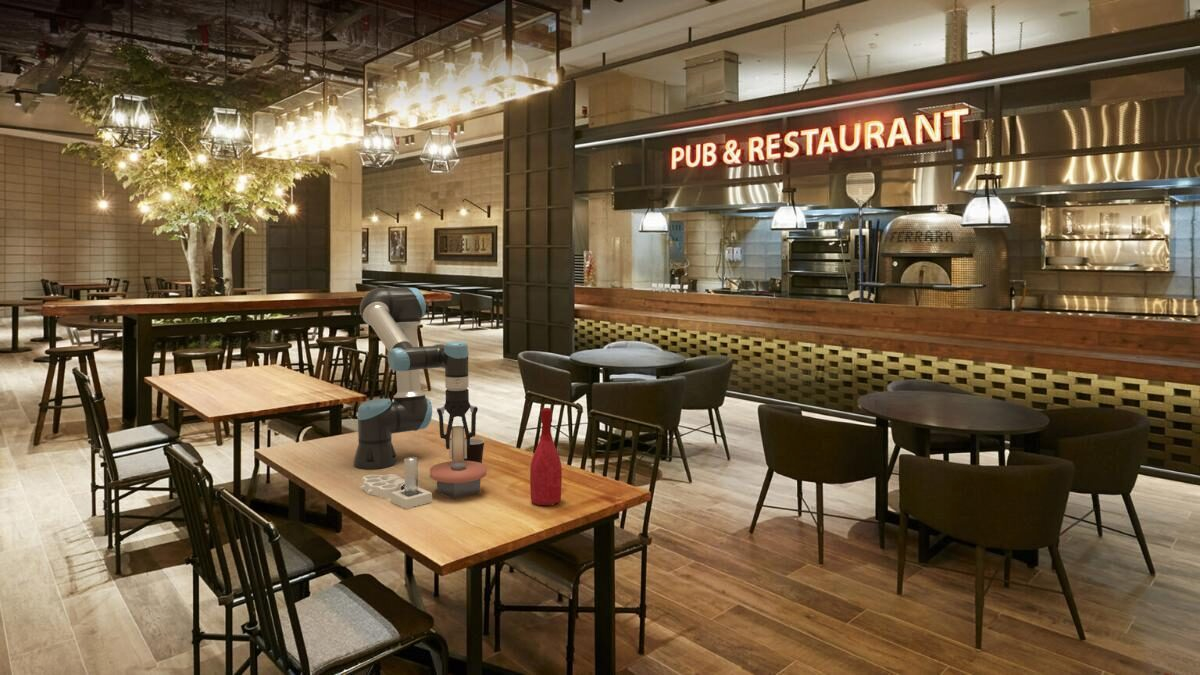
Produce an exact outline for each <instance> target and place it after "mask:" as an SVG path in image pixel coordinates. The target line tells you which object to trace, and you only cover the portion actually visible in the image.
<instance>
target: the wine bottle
mask: <svg viewBox="0 0 1200 675" xmlns="http://www.w3.org/2000/svg"><path fill="white" fill-rule="evenodd" d="M540 413H541V416H540V417H541V418H540V423H541V424H542V425H541V432H540V437H539V442H538V444H537V446H536V448H535V451H534V453H533V455H532V458H531V462H530V472H529V475H530V476H529V481H530V482H529V486H530V488H529V489H530V491H529V492H530V500H531V502H532V503H533V504H534V505H537V506H541V505H549V506H553V505H552V504H554V505H556V504H555V503H557V504H558V503H560V502H561V499H562V478H563V477H562V476H563V474H562V469H563V468H562V461H561V458H560V455H559V452H558V450H557V448H556V445H555V443H554V440H553V436H552V430H551V423H553V416H552V414H553V412H552V408H550V407H544V408H541V411H540Z"/></svg>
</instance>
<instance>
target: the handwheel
mask: <svg viewBox="0 0 1200 675" xmlns="http://www.w3.org/2000/svg"><path fill="white" fill-rule="evenodd" d="M464 437H465V430H464V426H463V425H452V429H451V439H452V459H451V461H444V462H441V463H437V464H435V465H432V466H431V467H430V469H429V478H430V479H431V480H433V481H435V482H437V481H438V482H444V483H465V482H471V481H476V480H479V479H480V480H482V479H483V478H485V477H486V476H487V475H488V474H487V465H485V464H484V463H483V462H482V463H479V462H474V461H464Z"/></svg>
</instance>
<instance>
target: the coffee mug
mask: <svg viewBox="0 0 1200 675" xmlns="http://www.w3.org/2000/svg"><path fill="white" fill-rule="evenodd" d="M484 447H485V439H482V438H470V448H467V458H464V461H474V462H479V463H482V464H483V456H484V449H485V448H484Z"/></svg>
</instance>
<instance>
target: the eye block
mask: <svg viewBox="0 0 1200 675" xmlns="http://www.w3.org/2000/svg"><path fill="white" fill-rule="evenodd" d="M402 489H403V490H399V491H395V492H391V498H390V502H391V503H392V504H395V505H397V506H399V507H400V508H403V509H405V510H408V508H409V509H412V508H415V507H414V506H416V507H419V506H418V505H420V506H423V504H424V505H427V503H428V504H430V503H431V502H432V503H433V493H432V492H430V491H429V490H426V489H424V488H421V487H419V486H418V495H414V496H410V497H407V496H405V488H402ZM432 503H431V504H432ZM411 507H412V508H411Z"/></svg>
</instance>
